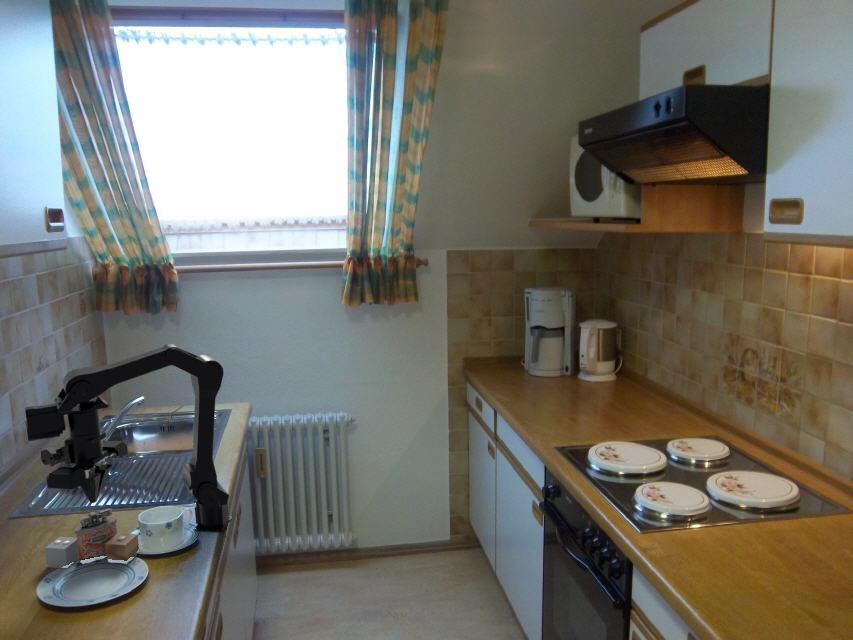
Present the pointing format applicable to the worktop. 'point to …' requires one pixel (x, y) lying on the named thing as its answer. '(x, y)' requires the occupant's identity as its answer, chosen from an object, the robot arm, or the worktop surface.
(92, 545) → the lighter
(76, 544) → the grey block
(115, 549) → the walnut block
